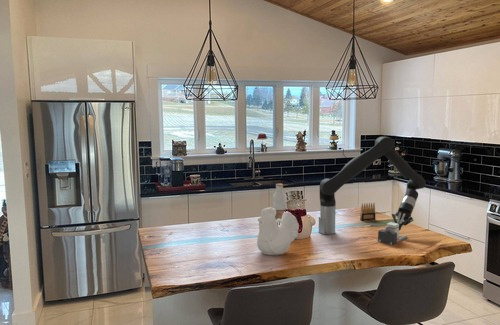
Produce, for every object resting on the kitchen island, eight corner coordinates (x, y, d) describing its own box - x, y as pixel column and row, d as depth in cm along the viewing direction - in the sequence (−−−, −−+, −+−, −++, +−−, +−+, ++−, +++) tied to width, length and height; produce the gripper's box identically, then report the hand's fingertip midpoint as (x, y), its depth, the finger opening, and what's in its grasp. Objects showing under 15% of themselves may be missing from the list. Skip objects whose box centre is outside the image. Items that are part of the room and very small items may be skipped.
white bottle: (269, 225, 261) (269, 183, 258) (281, 223, 265) (282, 182, 262) (276, 229, 252) (276, 185, 249) (289, 227, 257) (289, 184, 253)
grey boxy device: (392, 236, 235) (393, 219, 233) (407, 240, 228) (408, 222, 227) (377, 244, 222) (378, 225, 220) (393, 247, 215) (393, 228, 214)
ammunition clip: (361, 220, 270) (361, 203, 269) (360, 220, 272) (360, 203, 271) (375, 219, 273) (376, 202, 271) (374, 219, 275) (374, 202, 273)
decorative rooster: (262, 260, 198) (262, 212, 195) (252, 250, 213) (252, 205, 210) (307, 254, 206) (308, 208, 203) (295, 245, 220) (295, 201, 217)
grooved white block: (390, 237, 228) (390, 222, 226) (398, 239, 224) (399, 223, 223) (385, 239, 224) (386, 223, 223) (394, 241, 220) (395, 225, 219)
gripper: (394, 200, 237) (384, 224, 230) (416, 203, 227) (406, 228, 220) (398, 207, 241) (388, 231, 234) (420, 210, 231) (410, 235, 224)
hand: (397, 230), depth 227 cm, fingers closed
